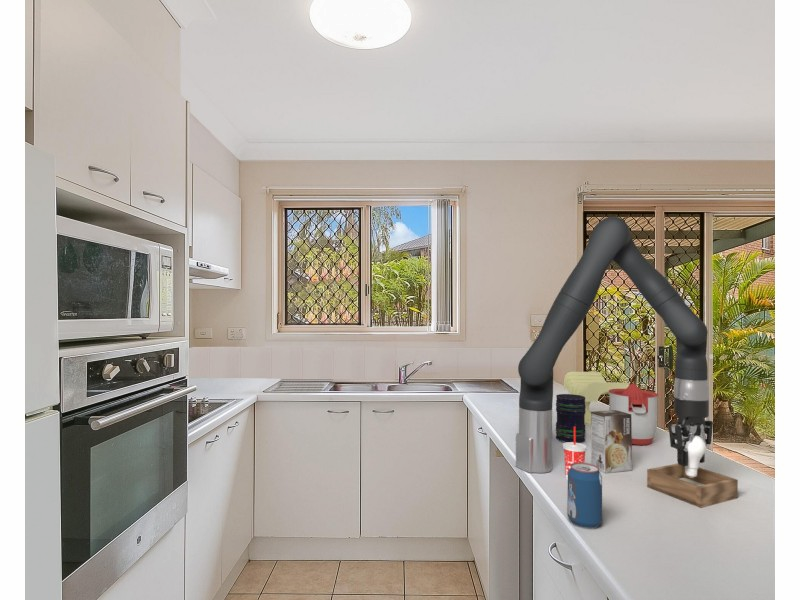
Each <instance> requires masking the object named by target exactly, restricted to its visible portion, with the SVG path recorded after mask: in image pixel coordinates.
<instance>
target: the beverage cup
mask: <svg viewBox="0 0 800 600" xmlns="http://www.w3.org/2000/svg"><path fill="white" fill-rule="evenodd" d="M562 448H563V457H564V459H563V460H564V474H565V475H564V476H565V479H566V480H567V481H568V471H569V469H570V468H571V464H573V463H586V451H587V445H586V444H583V443H576V427H575V426H574V442H564V443H562Z"/></svg>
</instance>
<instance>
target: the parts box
mask: <svg viewBox="0 0 800 600" xmlns="http://www.w3.org/2000/svg"><path fill="white" fill-rule="evenodd" d="M697 471H698V472H697V476H696V477H694V478H690V477H689V476H687V475H686V473H685V466H682V465H679V464H678V463H673V464H668V465H663V466H659V467H658V466H657V467H652V468H648V469H647V471H646V473H647V474H646V487H647V488H648V489H649V488H650V489H652V490H655V491H657V492H658V493H662V494H664V495H667V496H669V497H673V498H674V499H678V500H680V501H683V502H685V503H688V504H690V505H693V506H695V507H699V508H704V507H708V506H713V505H717V504H720V503H723V502H728V501H731V500H736V499H738V498H739V497H738V496H739V495H738V493H739V492H738V490H739V489H738V485H739V484H738V483H739V482H738V480H739V479H736V478H733V477H730V476H727V475H724V474H721V473H718V472H715V471H712V470H707V469H704V468H702V467H699V468H698V470H697Z"/></svg>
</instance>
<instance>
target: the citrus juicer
mask: <svg viewBox="0 0 800 600" xmlns="http://www.w3.org/2000/svg"><path fill="white" fill-rule="evenodd" d="M608 395H609V397H608V398H609V399H608V400H609V404H608V405H609V410H608V411H611V410H617V411H621V412H625V413H628V414H631V421H632V445H640V446H641V445H643V446H648V445H650V444H652V442H653V441H654V438H655V434H656V432H657V427H658V405H659V404H658V401H659V400H658V399H659V398H658V396H659V394H658V393H657V392H654V391H651V390H650V391H649V390H646V389H644V390H643V389H640V388H639V387H638V386H637V385H636V384H635V383H631V384H629V386H628V387H627V388H626V389H611V390H609V394H608Z"/></svg>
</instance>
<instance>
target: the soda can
mask: <svg viewBox="0 0 800 600" xmlns="http://www.w3.org/2000/svg"><path fill="white" fill-rule="evenodd" d="M566 508H567V517H568V519H569V521H570V523H571V524H572V525H573V526H575V527H578V528H580V529H585V530H593V529H595V530H596V529H597V528H598V527H599V526H600V524H602V521H603V476H602V474H601V472H600V470H599V468H598V467H597V466H595V465H593V464H591V463H588V462H585V463H573V464H571V468H570V469H569V471H568V480H567V507H566Z"/></svg>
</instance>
